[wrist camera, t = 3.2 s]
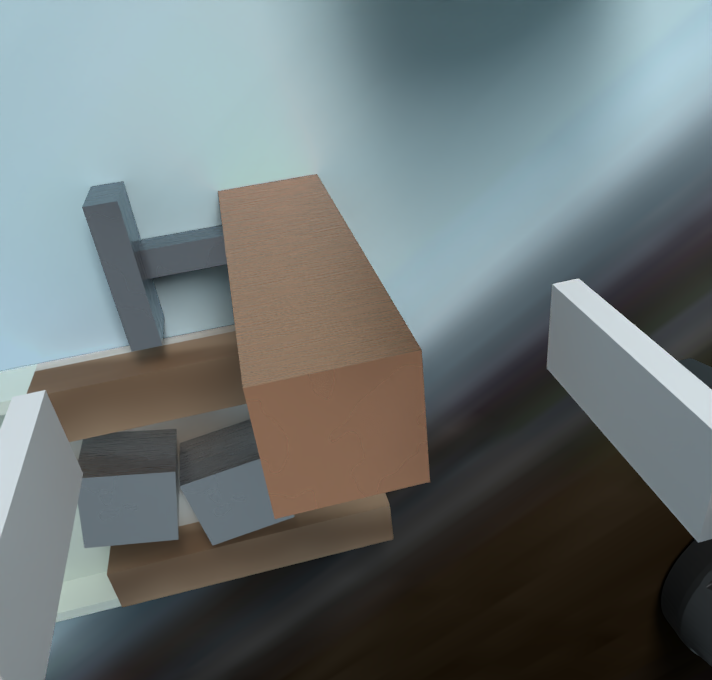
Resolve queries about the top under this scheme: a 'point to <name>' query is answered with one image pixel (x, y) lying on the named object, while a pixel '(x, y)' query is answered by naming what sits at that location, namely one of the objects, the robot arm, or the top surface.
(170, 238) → the brown block with handle
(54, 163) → the top surface
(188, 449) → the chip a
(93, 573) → the tray
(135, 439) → the grey block
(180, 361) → the slot board
